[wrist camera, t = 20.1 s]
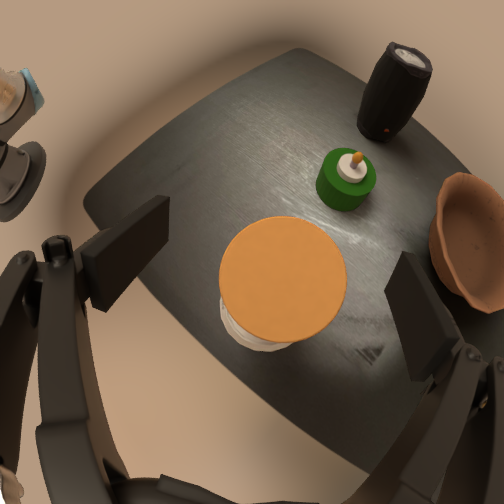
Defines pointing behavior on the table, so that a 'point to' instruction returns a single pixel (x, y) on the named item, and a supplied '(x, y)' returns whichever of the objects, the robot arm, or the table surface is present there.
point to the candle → (345, 179)
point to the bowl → (469, 241)
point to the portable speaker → (393, 92)
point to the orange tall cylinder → (282, 279)
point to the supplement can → (247, 334)
